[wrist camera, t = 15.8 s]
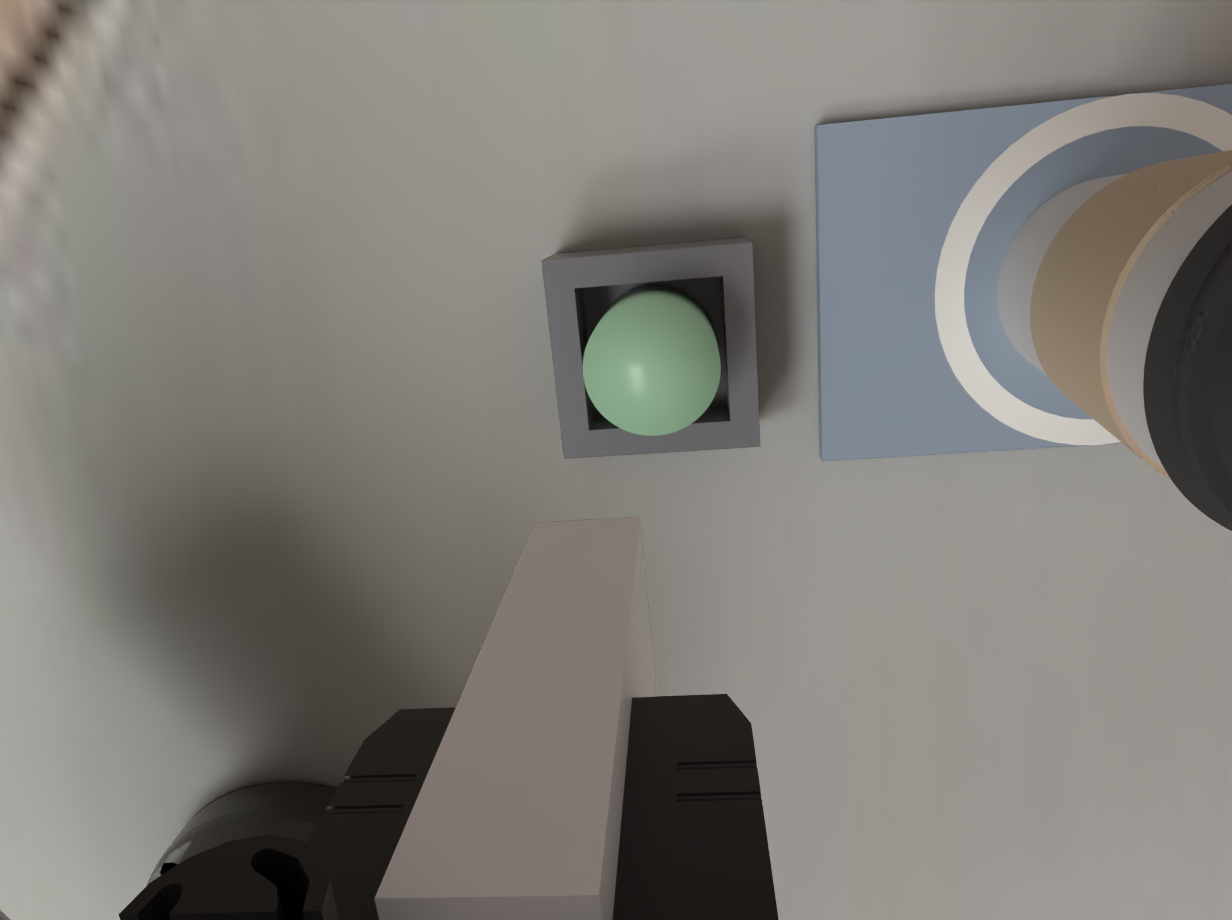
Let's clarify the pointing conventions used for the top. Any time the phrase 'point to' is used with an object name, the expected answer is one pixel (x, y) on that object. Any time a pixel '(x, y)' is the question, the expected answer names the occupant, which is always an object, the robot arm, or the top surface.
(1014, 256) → the coffee cup
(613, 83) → the top surface
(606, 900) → the robot arm
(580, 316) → the button housing
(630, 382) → the button
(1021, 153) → the slate board
